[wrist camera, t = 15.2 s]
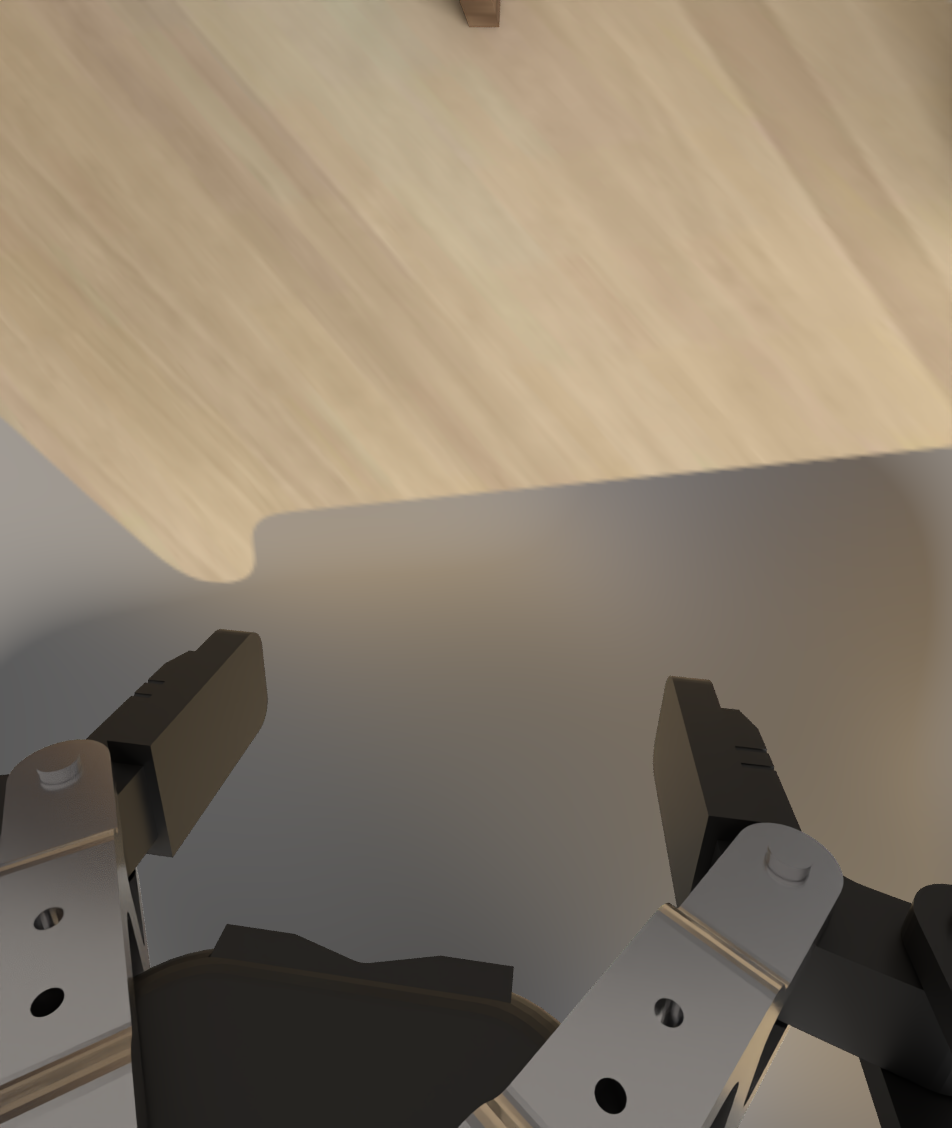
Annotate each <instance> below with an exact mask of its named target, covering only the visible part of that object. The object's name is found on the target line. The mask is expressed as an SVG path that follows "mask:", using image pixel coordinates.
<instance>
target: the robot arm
mask: <svg viewBox="0 0 952 1128" xmlns="http://www.w3.org/2000/svg"><path fill="white" fill-rule="evenodd" d="M267 703H268V697H267V687H266V677H265V668H264V659H263V649H262V642H261V638H260V636H259V635H258V634H257V633H254V632H244V631H234V630H224V629H219V630H217V631H215V632H214V633H213V634H212V635H211V636H210V637H209V638H208V639H207V640H206V641H205V642H204V643H203V644H202V645H201V646H200V647H199V648H198V649H197V650H196V651H188V652H186V653H184V654H182V655H180V656H178V657H176V658H175V659H173V660H171V661H169V662H167V663H165V664H164V665H163V666H162V667H161V668H160V669H159V670H158V671H157V672H156V673H155V674H154V675H153V676H151V677H150V678H149V680H148V683H144V684H143V685H142V686H141V687H140V688H139V689H138V690H137V691H136V692H135V695H134V696H131V697H130V698H129V699H127V700H126V701H125V702H124V703H123V704H122V705H121V706H120V707H119V708H118V709H117V710H116V711H115V712H114V713H113V714H112V715H111V716H110V717H109V718H108V719H107V720H105V722H103V723H102V724H101V725H100V726H99V727H98V728H97V729H96V730H95V731H94V732H93V733H92V734H91V735H90V736H89V737H88V738H87V739H76V740H68V741H63V742H59V743H56V744H52V745H50V746H47V747H44V748H42V749H40V750H38V751H36V752H34V753H32V754H31V755H29V756H27V757H26V758H25V759H23V760H22V761H21V762H19V763H18V764H17V765H16V766H15V767H14V769H13V770H12V771H11V772H10V774H8V775H0V1128H738V1127H739V1125H740V1123H741V1121H742V1119H743V1117H744V1115H745V1113H746V1111H747V1109H748V1107H749V1105H750V1103H751V1101H752V1099H753V1098H754V1096H755V1094H756V1092H757V1090H758V1088H759V1086H760V1084H761V1082H762V1080H763V1078H764V1076H765V1074H766V1073H767V1071H768V1069H769V1067H770V1065H771V1063H772V1061H773V1059H774V1057H775V1056H776V1053H777V1052H778V1050H779V1048H780V1046H781V1044H782V1042H783V1040H784V1038H785V1036H786V1034H787V1033H788V1031H789V1029H790V1027H791V1026H793V1027H795V1028H797V1029H799V1030H801V1031H804V1032H806V1033H808V1034H810V1035H812V1036H815V1037H816V1038H819V1039H821V1040H823V1041H825V1042H827V1043H829V1044H831V1045H834V1046H836V1047H838V1048H840V1049H842V1050H844V1051H847V1052H849V1053H851V1054H853V1055H855V1056H857V1057H859V1059H860V1062H861V1065H862V1068H863V1072H864V1075H865V1078H866V1081H867V1084H868V1087H869V1090H870V1093H871V1097H872V1100H873V1103H874V1106H875V1109H876V1112H877V1115H878V1118H879V1122H880V1125H881V1128H952V885H947V884H932V885H928V886H925V887H923V888H922V889H920V890H919V891H918V892H917V894H916V895H915V898H914V900H913V902H912V904H911V903H909V902H906V901H903V900H901V899H898V898H895V897H892V896H890V895H887V894H884V893H881V892H879V891H876V890H873V889H871V888H868V887H866V886H863V885H861V884H858V883H856V882H854V881H852V880H850V879H848V878H846V877H844V876H843V874H842V871H841V868H840V866H839V864H838V863H837V861H836V859H835V858H834V857H833V855H832V854H831V853H830V852H829V851H828V850H827V849H826V848H825V847H824V846H823V845H822V844H820V843H819V842H818V841H816V840H815V839H814V838H812V837H810V836H809V835H807V834H805V833H803V832H802V831H801V829H800V827H799V824H798V822H797V820H796V817H795V815H794V813H793V810H792V808H791V805H790V803H789V801H788V798H787V796H786V794H785V791H784V789H783V786H782V784H781V782H780V779H779V777H778V775H777V772H776V771H774V765H773V763H772V761H771V758H770V756H769V754H768V753H767V752H766V751H767V749H766V746H765V744H764V742H763V740H762V737H761V735H760V733H759V730H758V729H757V727H755V725H753V724H752V722H751V721H749V719H747V718H746V717H745V716H744V715H743V714H742V713H741V712H740V711H739V710H735V709H726V708H721V707H720V704H719V701H718V698H717V696H716V693H715V690H714V687H713V684H712V682H711V681H710V680H706V679H696V678H686V677H676V676H669V677H668V679H667V681H666V684H665V689H664V695H663V700H662V705H661V711H660V716H659V721H658V727H657V733H656V738H655V744H654V754H653V770H654V779H655V784H656V790H657V796H658V802H659V807H660V813H661V818H662V825H663V830H664V836H665V842H666V847H667V853H668V859H669V864H670V870H671V876H672V881H673V887H674V893H675V899H676V904H677V908H676V907H674V906H673V905H672V904H670V903H666V904H664V905H662V906H661V907H660V908H659V909H658V910H657V911H656V912H655V913H654V914H653V915H652V917H651V918H650V919H649V920H648V921H647V922H646V924H645V925H644V926H643V927H642V928H641V930H640V931H639V932H638V933H637V934H636V936H635V937H634V938H633V939H632V940H631V942H630V943H629V944H628V945H627V946H626V948H625V949H624V950H623V951H622V952H621V953H620V955H619V956H618V957H617V958H616V959H615V961H614V962H613V963H612V964H611V965H610V966H609V968H608V969H607V970H606V971H605V973H604V974H603V975H602V976H601V977H600V978H599V979H598V981H597V982H596V983H595V984H594V985H593V987H592V988H591V989H590V990H589V991H588V992H587V994H586V995H585V996H584V997H583V998H582V1000H581V1001H580V1002H579V1003H578V1004H577V1006H576V1007H575V1008H574V1009H573V1010H572V1012H571V1013H570V1014H569V1015H568V1016H567V1017H566V1019H565V1020H564V1021H563V1022H562V1023H560V1022H559V1021H558V1020H557V1019H555V1018H554V1017H553V1016H551V1015H550V1014H549V1013H548V1012H546V1011H545V1010H544V1009H542V1008H541V1007H539V1006H538V1005H536V1004H534V1003H532V1002H531V1001H529V1000H527V999H526V998H523V997H521V996H519V995H517V994H515V993H513V992H512V980H513V968H514V967H513V966H506V965H499V964H493V963H486V962H479V961H472V960H465V959H459V958H452V957H445V956H434V957H424V958H414V959H405V960H395V961H385V962H375V963H360V962H356V961H354V960H351V959H349V958H347V957H345V956H343V955H340V954H338V953H336V952H334V951H331V950H329V949H327V948H325V947H323V946H320V945H318V944H316V943H314V942H311V941H309V940H307V939H305V938H303V937H300V936H298V935H296V934H290V933H284V932H277V931H270V930H264V929H257V928H250V927H244V926H237V925H230V924H227V925H226V927H225V929H224V931H223V932H222V935H221V936H220V938H219V940H218V942H217V944H216V946H215V948H214V949H208V950H203V951H198V952H193V953H189V954H186V955H183V956H180V957H176V958H173V959H170V960H168V961H166V962H163V963H161V964H159V965H157V966H154V967H152V968H151V967H150V960H149V952H148V944H147V937H146V930H145V921H144V914H143V905H142V898H141V890H140V882H139V876H138V872H137V868H136V867H137V865H138V864H139V863H140V861H141V860H142V858H143V857H144V856H145V854H152V855H159V856H166V857H173V856H174V855H175V853H176V852H177V851H178V849H179V848H180V846H181V845H182V843H183V842H184V840H185V839H186V837H187V836H188V834H189V833H190V832H191V830H192V828H193V827H194V826H195V824H196V823H197V821H198V820H199V818H200V817H201V815H202V814H203V812H204V811H205V809H206V808H207V807H208V805H209V804H210V802H211V801H212V799H213V798H214V796H215V795H216V793H217V792H218V790H219V789H220V787H221V786H222V785H223V783H224V782H225V780H226V779H227V777H228V776H229V774H230V773H231V771H232V770H233V768H234V767H235V766H236V764H237V763H238V761H239V760H240V758H241V757H242V755H243V754H244V752H245V751H246V749H247V748H248V746H249V745H250V744H251V742H252V741H253V739H254V738H255V736H256V734H257V733H258V732H259V730H260V729H261V727H262V725H263V722H264V719H265V716H266V712H267Z"/></svg>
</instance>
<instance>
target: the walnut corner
mask: <svg viewBox="0 0 952 1128" xmlns="http://www.w3.org/2000/svg"><path fill="white" fill-rule="evenodd" d="M459 1H460V3H461V6H462V9H463V11H464V14H465V16H466V19H467V22H468V24H469V27H499V18H500V0H459Z"/></svg>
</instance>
